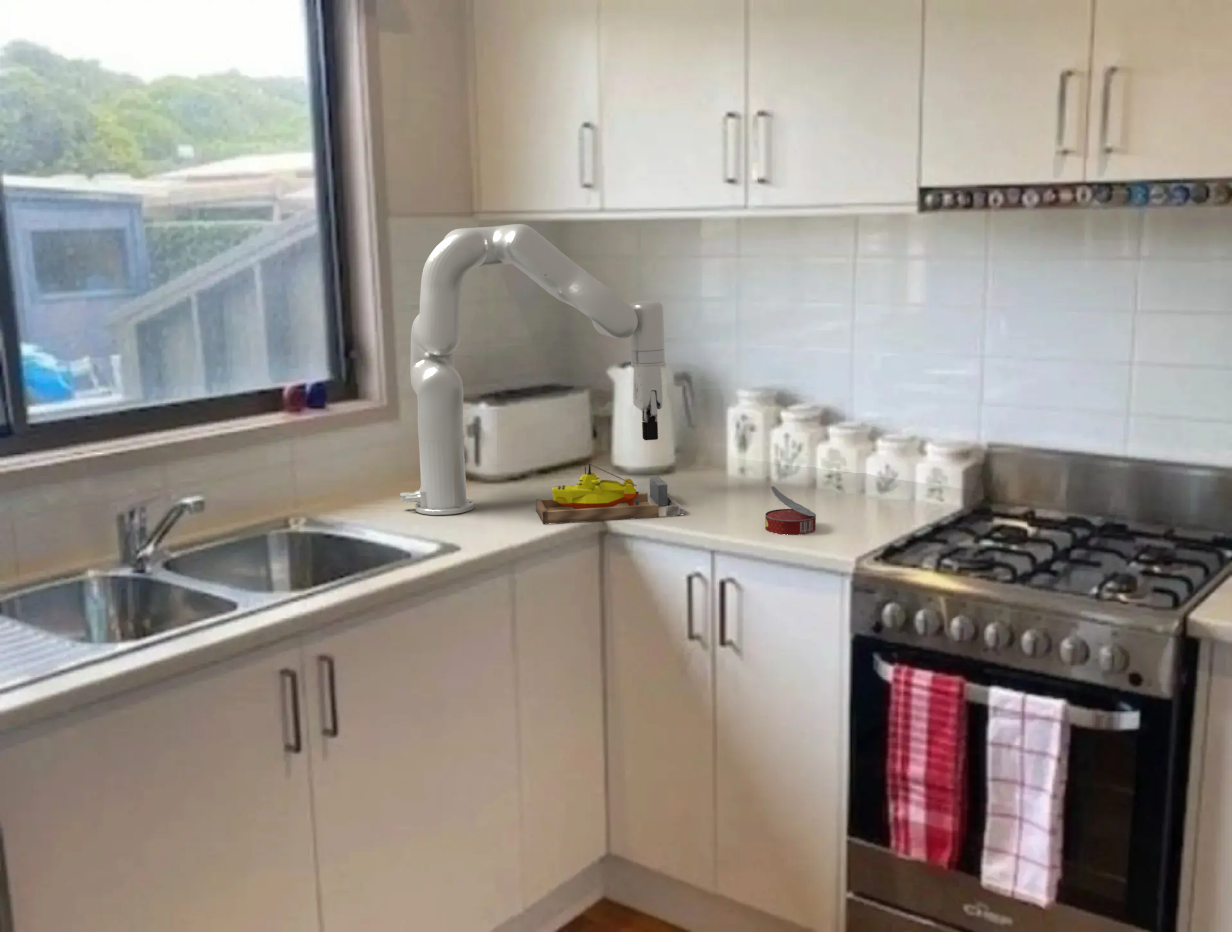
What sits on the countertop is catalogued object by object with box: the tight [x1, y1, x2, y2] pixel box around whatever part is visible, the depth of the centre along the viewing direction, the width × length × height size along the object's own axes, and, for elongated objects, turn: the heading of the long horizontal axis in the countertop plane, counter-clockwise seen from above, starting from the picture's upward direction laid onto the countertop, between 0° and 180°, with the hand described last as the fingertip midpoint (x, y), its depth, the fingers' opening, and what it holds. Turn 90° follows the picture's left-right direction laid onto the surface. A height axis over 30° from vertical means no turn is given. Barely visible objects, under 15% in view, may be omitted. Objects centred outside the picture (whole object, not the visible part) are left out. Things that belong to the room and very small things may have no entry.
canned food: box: [764, 485, 817, 536], centre depth 237 cm, size 11×10×10 cm
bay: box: [535, 492, 685, 525], centre depth 257 cm, size 30×20×2 cm
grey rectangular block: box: [649, 476, 669, 507], centre depth 262 cm, size 2×9×4 cm, turn 10°
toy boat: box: [551, 463, 640, 509], centre depth 252 cm, size 6×18×10 cm, turn 91°
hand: (650, 439), depth 270 cm, fingers closed
